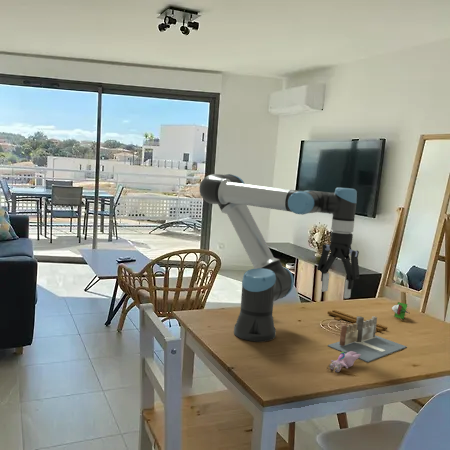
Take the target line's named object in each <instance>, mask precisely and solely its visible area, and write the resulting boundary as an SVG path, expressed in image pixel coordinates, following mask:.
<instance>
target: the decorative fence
mask: <svg viewBox="0 0 450 450" xmlns="http://www.w3.org/2000/svg"><path fill="white" fill-rule="evenodd" d="M327 315H330V316H333V317H334V318H333V320H335V321H341V320H345V321H349V322H350V323H351V324H352V325H353V324H354V323H356V321H357V317H358V316H354V315H351V314H348V313H345V312H342V311H339V310H336V309H332V310H329V311H327ZM366 320H367V319H364V321H366ZM387 330H388V326H385V325H382V324H379V323H377V324H376V332H375V333H378V332H380V333H381V332H383V331H387Z"/></svg>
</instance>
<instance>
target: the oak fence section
mask: <svg viewBox="0 0 450 450" xmlns="http://www.w3.org/2000/svg"><path fill="white" fill-rule="evenodd" d="M353 323H354V322H353ZM340 328H341V329H340V335H339V336H340V337H339V341H340V344H339V345H341V346H345V345H346V344H350V343H353V342H356V341H357V336H358V330H357V324H356V323H354V324H353V325H352V323H350V324H348V325H346V324H341V327H340Z"/></svg>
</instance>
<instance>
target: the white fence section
mask: <svg viewBox="0 0 450 450" xmlns="http://www.w3.org/2000/svg"><path fill="white" fill-rule="evenodd" d="M356 317H357V321H356V324H357V330H358V336H357V341H356V342H361V341H363V340H366V339H369V338H372V337H375V335H376V333H377V332H376V324H378V323H377V322H378V317H377V316H374V315H373V316H371V318H369V319H365V318H364V317H363V316H356ZM364 320H366V321H364Z"/></svg>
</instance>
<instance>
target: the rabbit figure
mask: <svg viewBox="0 0 450 450" xmlns="http://www.w3.org/2000/svg"><path fill="white" fill-rule="evenodd" d="M360 356H361V354H357V353H356V352H353V351H350V352H348V353H344V352H341V351H340V355H339V356H338V358H337V360H335V359H334V360H333V359H331V360H330V362H331V363H328V365H326V368H325V370H326V371H329V370H331V371H332V373H333V374H336V373H339V372H340V371H341V369H343V368H344V367H345V368H346V369H349V368H351V367H352V366H354V363H355V361H356V360H359V359H358V358H359V357H360Z"/></svg>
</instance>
